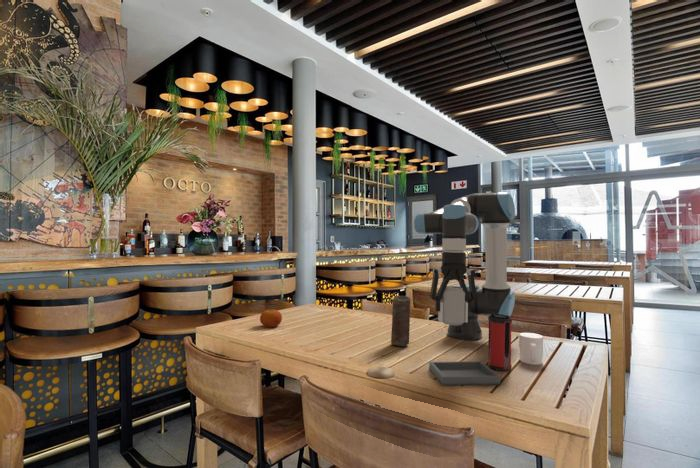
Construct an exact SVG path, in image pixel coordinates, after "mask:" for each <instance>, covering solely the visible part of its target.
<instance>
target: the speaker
mask: <svg viewBox="0 0 700 468" xmlns="http://www.w3.org/2000/svg"><path fill="white" fill-rule="evenodd" d="M487 318H488V345H487V346H488V348H487V349H488V351H487V352H488V353H487V363H486V364H487V365H486V366H488V367H489V368H490V369H491V370H493V371H494V370H495V371H498V372H509V371H510V370H512V364H511V363H512V323H513V318H511V316H507V315H502V314H492V315H490V316H487Z"/></svg>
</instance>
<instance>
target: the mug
mask: <svg viewBox="0 0 700 468" xmlns="http://www.w3.org/2000/svg"><path fill="white" fill-rule="evenodd" d="M518 336H519V338H518V347H519V361H521V362H522V363H524V364H527V365H532V366H536V365H537V366H540V365H542V364H543V356H544V336H543V335H541V334H538V333H533V332H521V333H519V335H518Z"/></svg>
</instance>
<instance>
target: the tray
mask: <svg viewBox="0 0 700 468" xmlns="http://www.w3.org/2000/svg"><path fill="white" fill-rule="evenodd" d="M428 363H429V366H428V368H429V371H430V372H431V374H432V375H433V376H434V378H436V381H438V382H439V384H440V385H441V386H443V387H448V386H449V387H451V386H452V387H453V386H455V387H456V386H463V387H464V386H466V387H467V386H501V376H500V375H499V374H497V373H496V372H495V371H494V370H493V369H491V368H490V367H488V365H486V364H485V363H484V362H482V361H479V360H478V361H477V360H476V361H471V360H469V361H467V360H466V361H460V360H459V361H429V362H428Z"/></svg>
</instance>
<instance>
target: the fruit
mask: <svg viewBox="0 0 700 468" xmlns="http://www.w3.org/2000/svg"><path fill="white" fill-rule="evenodd" d="M259 320H260V321H259V322H260V323H261V325H262V326H263V327H266V328H276V327H278V326H279V325H281V322H282V320H283V315H282V313H281V312H280V311H279V310H277V309H266V310H264V311H262V312H261V313H260V316H259Z"/></svg>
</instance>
